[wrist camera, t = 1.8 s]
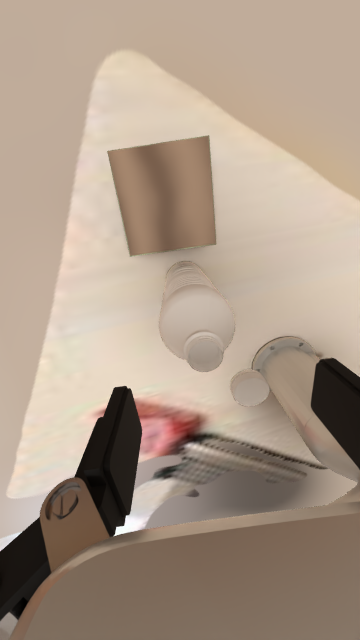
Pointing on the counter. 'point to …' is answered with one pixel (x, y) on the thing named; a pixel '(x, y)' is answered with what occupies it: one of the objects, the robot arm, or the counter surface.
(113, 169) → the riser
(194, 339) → the water bottle
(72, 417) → the counter surface
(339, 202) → the counter surface
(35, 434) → the counter surface
